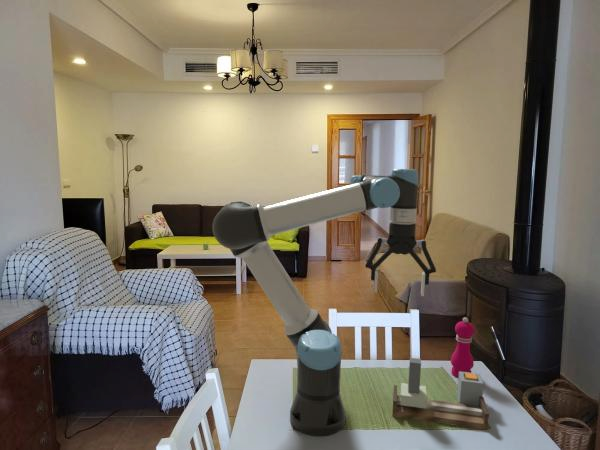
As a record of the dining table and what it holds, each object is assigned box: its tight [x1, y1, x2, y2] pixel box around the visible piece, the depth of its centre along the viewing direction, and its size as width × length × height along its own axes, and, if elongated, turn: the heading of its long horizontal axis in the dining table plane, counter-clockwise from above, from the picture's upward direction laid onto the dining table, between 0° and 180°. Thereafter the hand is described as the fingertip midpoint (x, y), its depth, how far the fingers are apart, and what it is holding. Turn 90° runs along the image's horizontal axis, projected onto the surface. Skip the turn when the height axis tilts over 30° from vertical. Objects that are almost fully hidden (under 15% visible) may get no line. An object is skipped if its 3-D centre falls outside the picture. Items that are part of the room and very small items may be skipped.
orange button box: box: [456, 371, 484, 406], centre depth 130 cm, size 6×6×8 cm
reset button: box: [465, 372, 477, 381], centre depth 130 cm, size 3×3×6 cm
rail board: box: [391, 384, 490, 430], centre depth 125 cm, size 25×9×4 cm, turn 77°
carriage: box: [400, 357, 428, 409], centre depth 125 cm, size 7×7×12 cm
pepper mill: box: [450, 317, 475, 378], centre depth 147 cm, size 7×7×20 cm
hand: (398, 293), depth 131 cm, fingers open, 13 cm apart
